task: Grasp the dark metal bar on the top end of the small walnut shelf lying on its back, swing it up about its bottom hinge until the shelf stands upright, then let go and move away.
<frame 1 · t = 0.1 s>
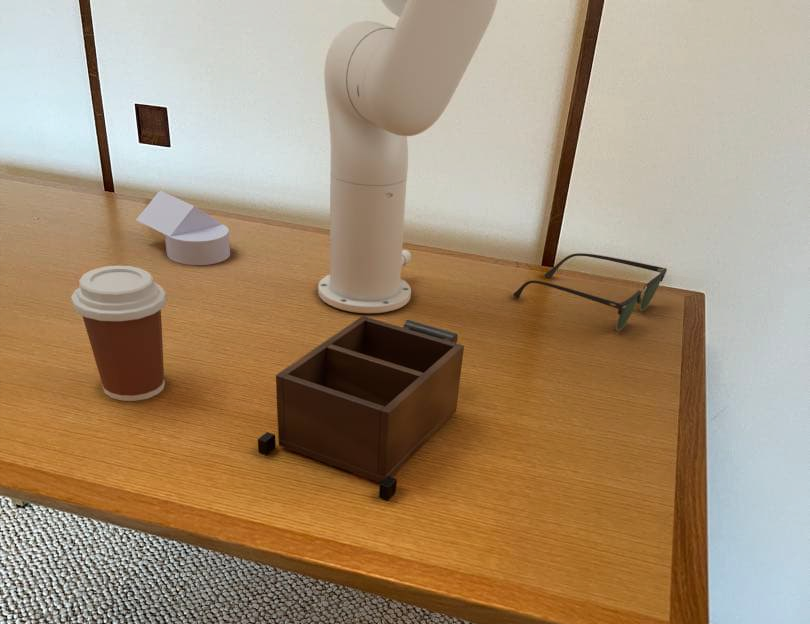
shelf: (385, 383, 83), point 4 cm above the table, hinge at 0.0°
wedge on round base: (190, 250, 120), on the table
pair of black blocks: (327, 470, 78), on the table
sunglasses: (582, 304, 114), on the table
coffee cup: (134, 387, 88), on the table
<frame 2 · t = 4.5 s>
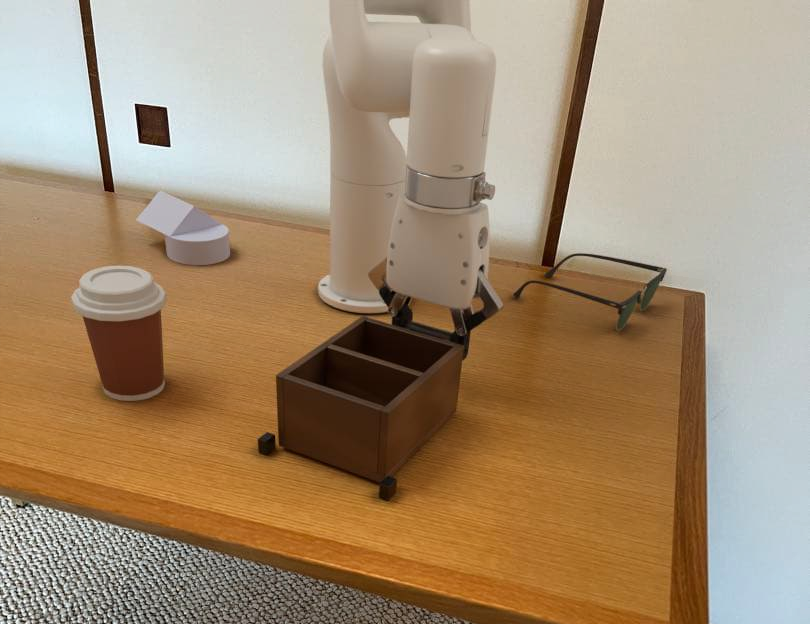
hand: (428, 353, 91), 4 cm above the table, tool pointing down, fingers closed on shelf, 6 cm apart
shelf: (385, 384, 83), point 4 cm above the table, hinge at 0.0°, touching gripper
everything else where it was.
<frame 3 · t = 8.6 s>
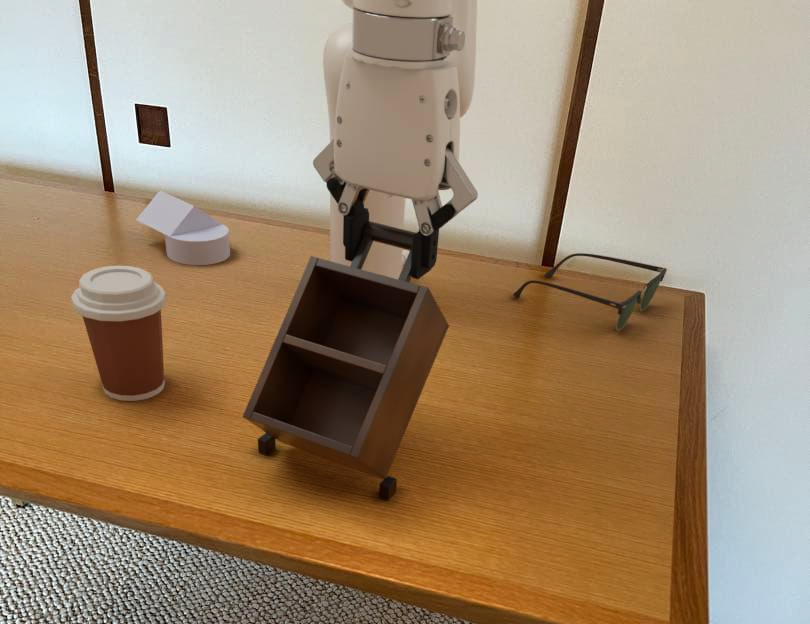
hand: (388, 263, 75), 17 cm above the table, tool pointing down, fingers closed on shelf, 6 cm apart
shelf: (359, 343, 75), point 11 cm above the table, hinge at 44.5°, touching gripper
everything else where it was.
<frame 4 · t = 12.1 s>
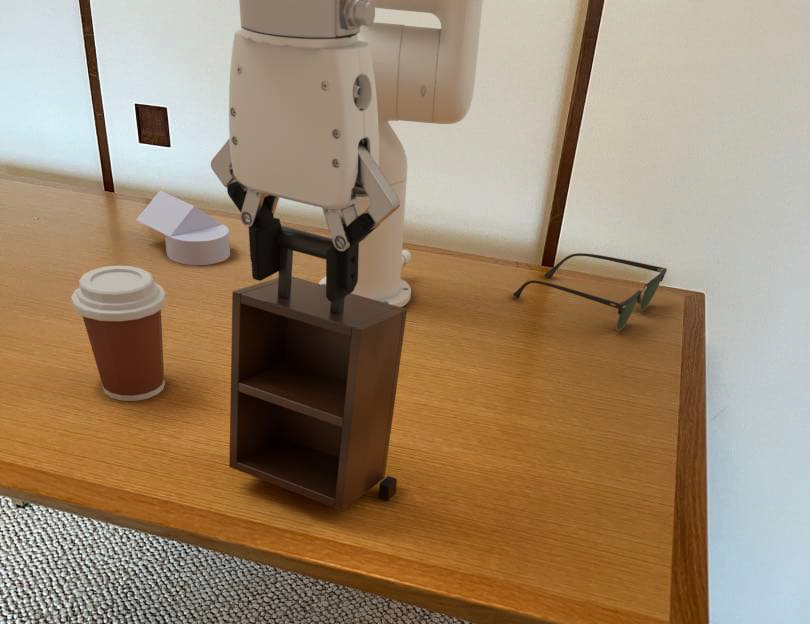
hand: (303, 283, 63), 20 cm above the table, tool pointing down, fingers closed on shelf, 6 cm apart
shelf: (316, 361, 69), point 12 cm above the table, hinge at 81.8°, touching gripper
everything else where it was.
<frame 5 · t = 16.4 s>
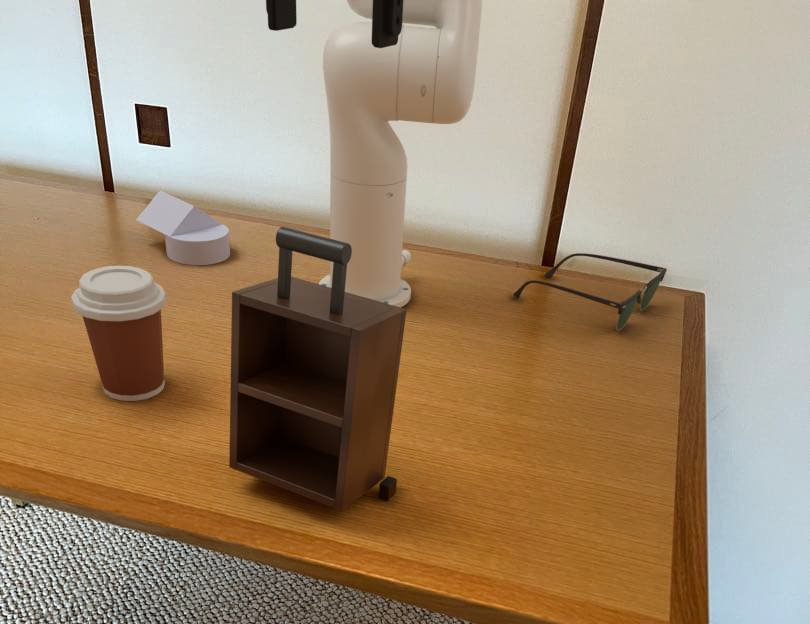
hand: (332, 37, 65), 34 cm above the table, tool pointing down, fingers open, 9 cm apart
shelf: (316, 362, 69), point 12 cm above the table, hinge at 82.0°
everything else where it was.
at the end: shelf at +82° (first picture: +0°); the gripper is holding nothing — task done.
